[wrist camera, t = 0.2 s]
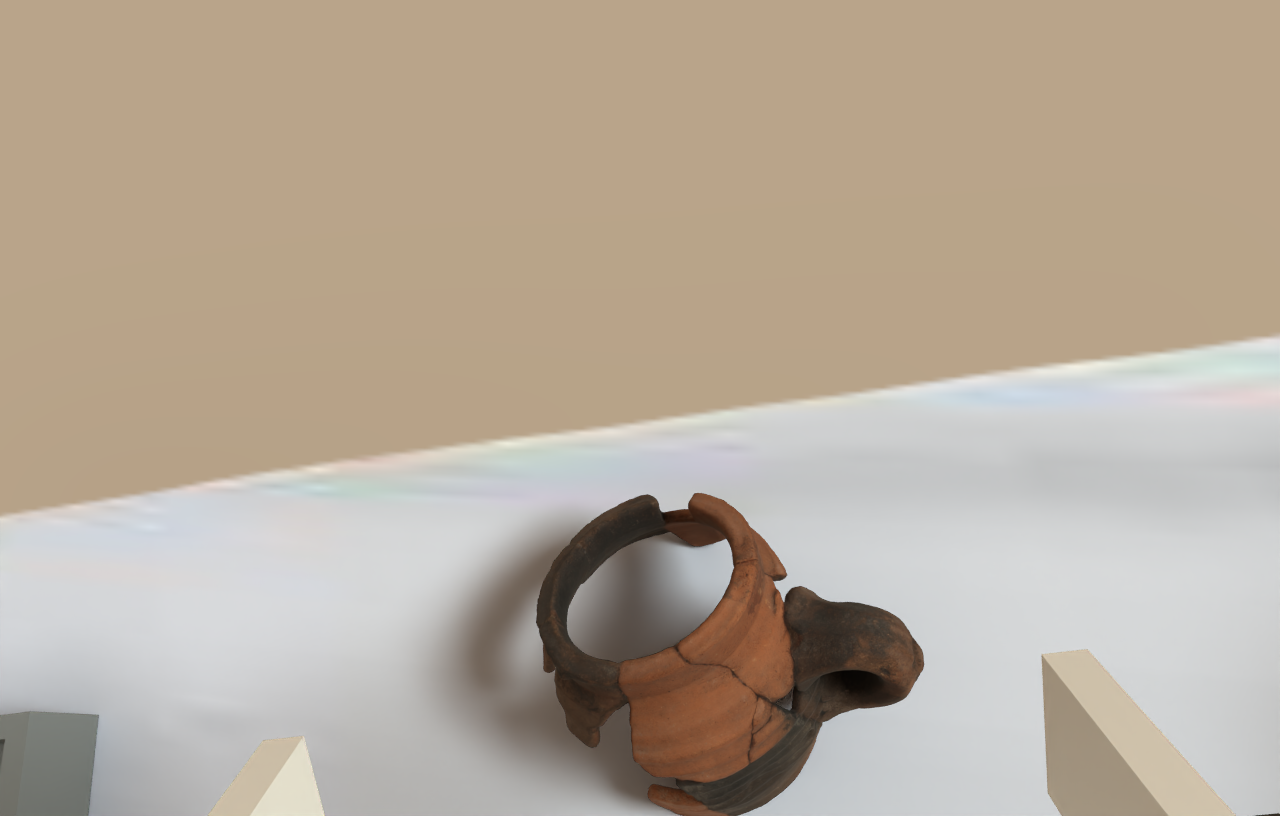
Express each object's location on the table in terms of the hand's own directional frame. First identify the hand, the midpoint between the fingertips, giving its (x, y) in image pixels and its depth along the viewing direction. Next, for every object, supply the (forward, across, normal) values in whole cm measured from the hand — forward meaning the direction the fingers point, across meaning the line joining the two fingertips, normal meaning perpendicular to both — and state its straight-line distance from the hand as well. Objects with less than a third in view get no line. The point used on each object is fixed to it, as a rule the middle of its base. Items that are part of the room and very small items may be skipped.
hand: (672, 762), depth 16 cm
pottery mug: (+15, -1, +7) cm, 16 cm away
